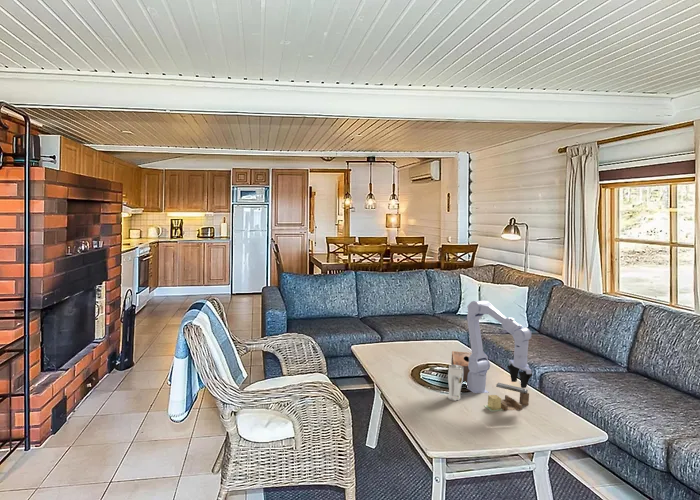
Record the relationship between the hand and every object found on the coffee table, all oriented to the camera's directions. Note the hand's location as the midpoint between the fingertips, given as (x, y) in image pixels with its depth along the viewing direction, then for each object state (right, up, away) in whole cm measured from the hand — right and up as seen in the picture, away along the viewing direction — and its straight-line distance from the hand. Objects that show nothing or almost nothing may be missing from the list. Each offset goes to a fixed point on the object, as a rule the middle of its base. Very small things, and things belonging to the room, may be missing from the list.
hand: (518, 384), depth 216 cm
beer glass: (-28, -9, +7) cm, 30 cm away
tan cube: (-12, -9, -4) cm, 16 cm away
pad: (-13, -10, -4) cm, 16 cm away
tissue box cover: (-15, -7, +38) cm, 42 cm away
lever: (-1, -4, +5) cm, 7 cm away
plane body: (-3, -10, +1) cm, 10 cm away
